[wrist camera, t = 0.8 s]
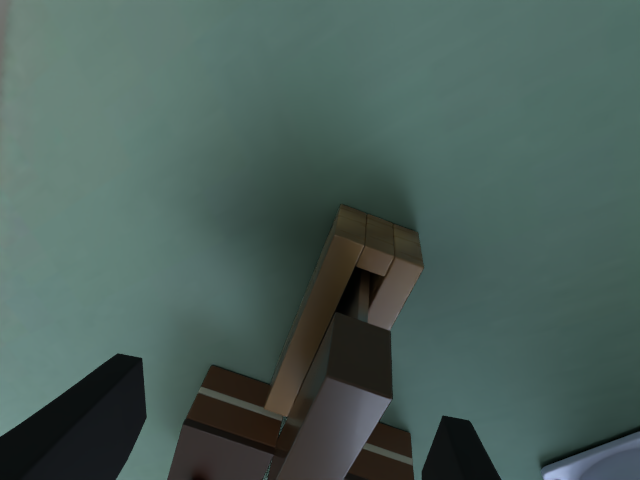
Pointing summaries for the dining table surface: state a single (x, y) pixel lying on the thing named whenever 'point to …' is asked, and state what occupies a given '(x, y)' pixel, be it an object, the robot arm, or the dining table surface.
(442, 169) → the dining table surface
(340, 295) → the knife block
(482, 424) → the dining table surface
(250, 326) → the dining table surface
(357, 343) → the cake cutter
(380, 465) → the chocolate cake
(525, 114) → the dining table surface
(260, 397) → the cake slice
